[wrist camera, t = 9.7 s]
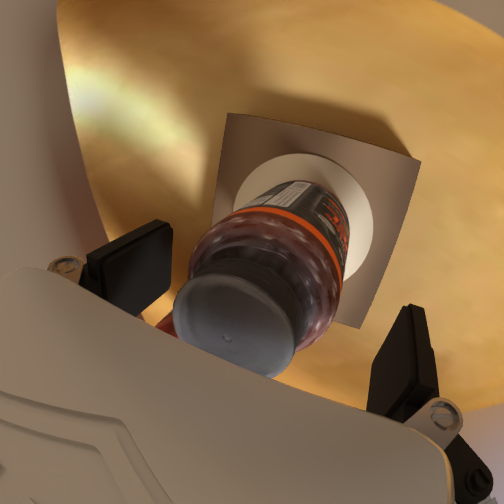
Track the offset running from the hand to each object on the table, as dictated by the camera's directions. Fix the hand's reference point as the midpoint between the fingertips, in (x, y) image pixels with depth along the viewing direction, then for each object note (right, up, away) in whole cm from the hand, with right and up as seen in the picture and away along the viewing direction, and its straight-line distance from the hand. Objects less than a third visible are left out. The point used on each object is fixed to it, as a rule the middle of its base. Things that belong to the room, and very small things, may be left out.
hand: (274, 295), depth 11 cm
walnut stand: (+3, +4, +10) cm, 12 cm away
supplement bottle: (+2, +3, +8) cm, 9 cm away
